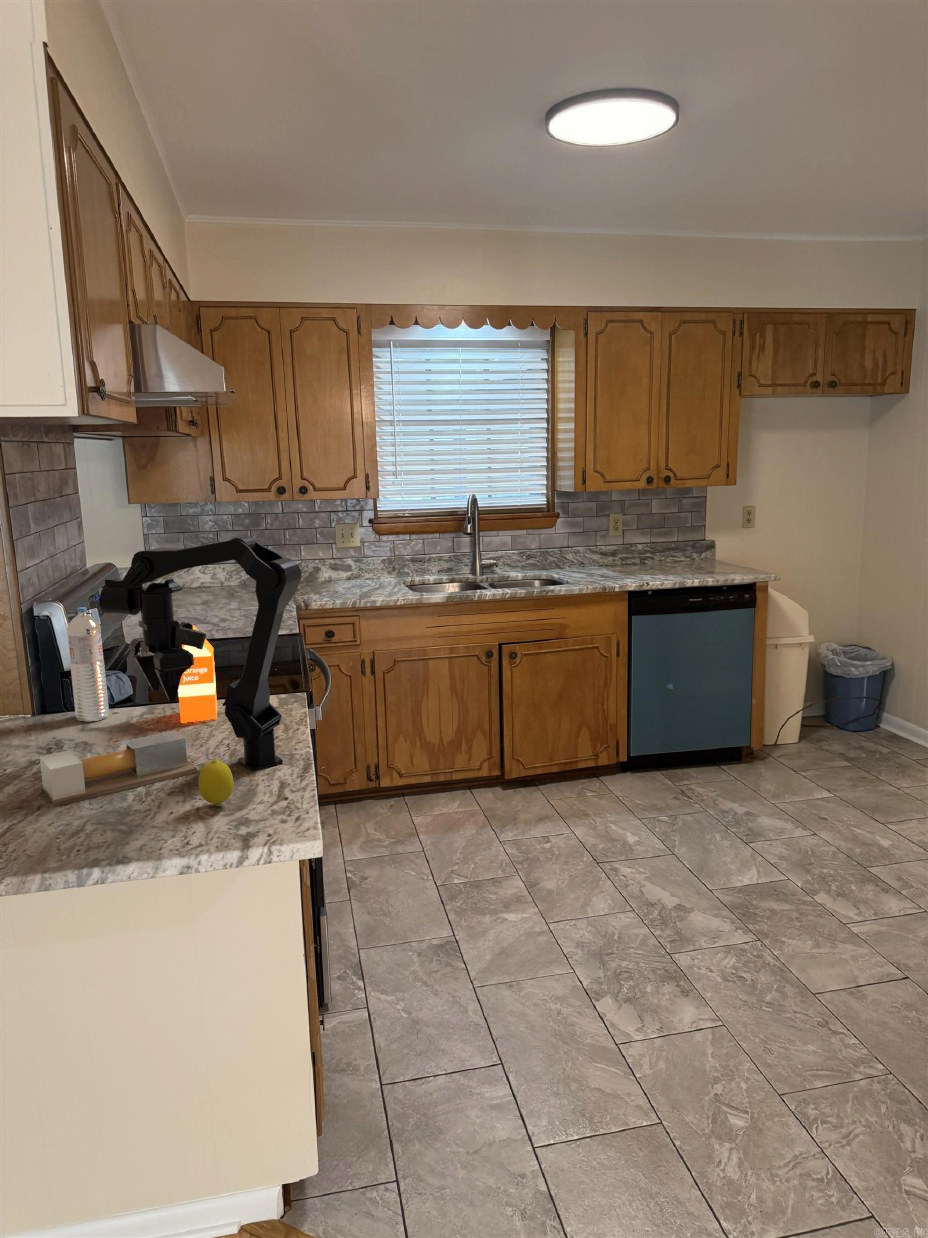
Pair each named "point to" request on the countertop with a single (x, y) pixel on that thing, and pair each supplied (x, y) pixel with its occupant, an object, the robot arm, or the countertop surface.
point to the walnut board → (120, 783)
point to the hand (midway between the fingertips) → (164, 696)
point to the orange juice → (198, 686)
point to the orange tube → (108, 764)
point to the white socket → (62, 774)
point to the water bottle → (87, 668)
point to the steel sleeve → (158, 753)
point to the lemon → (215, 782)
